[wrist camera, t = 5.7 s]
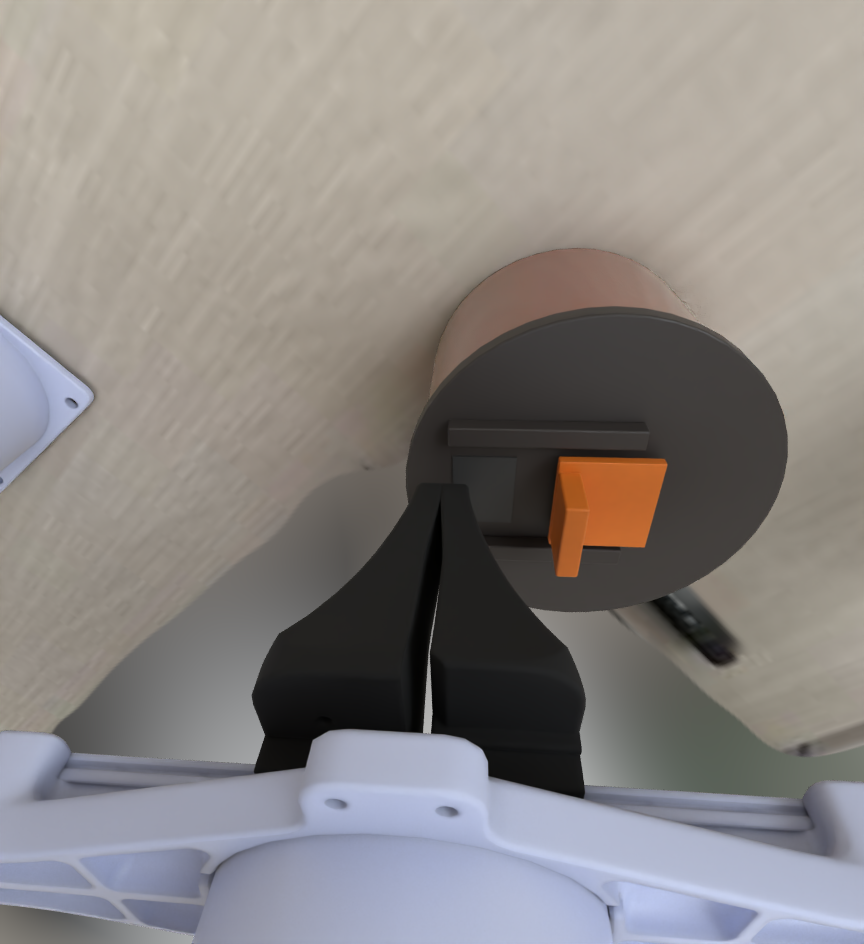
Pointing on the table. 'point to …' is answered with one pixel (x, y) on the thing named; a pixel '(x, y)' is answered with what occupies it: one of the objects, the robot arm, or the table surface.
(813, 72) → the table surface
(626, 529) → the slider
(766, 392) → the lidded cup
